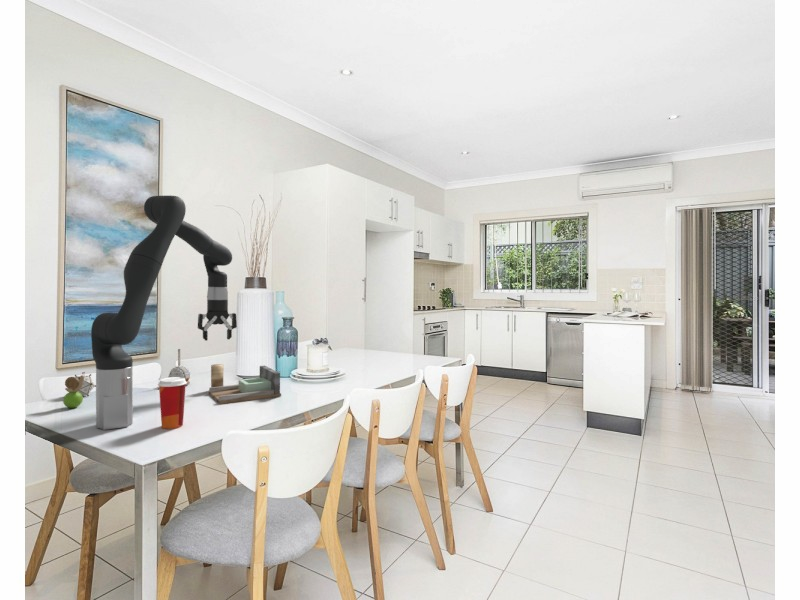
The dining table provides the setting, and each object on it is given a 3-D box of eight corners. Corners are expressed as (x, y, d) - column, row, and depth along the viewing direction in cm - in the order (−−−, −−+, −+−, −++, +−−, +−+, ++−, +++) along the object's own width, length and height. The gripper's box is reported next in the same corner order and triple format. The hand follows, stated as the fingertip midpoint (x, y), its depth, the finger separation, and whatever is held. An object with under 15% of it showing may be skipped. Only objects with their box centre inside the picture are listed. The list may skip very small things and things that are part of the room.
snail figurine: (79, 409, 152) (79, 373, 151) (59, 409, 152) (58, 373, 151) (89, 405, 157) (89, 370, 157) (69, 405, 157) (69, 370, 156)
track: (281, 396, 174) (281, 372, 174) (220, 404, 162) (220, 378, 162) (265, 387, 189) (265, 365, 189) (208, 393, 177) (208, 370, 176)
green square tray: (270, 392, 176) (271, 381, 176) (245, 395, 171) (245, 384, 171) (262, 387, 184) (262, 377, 184) (238, 390, 179) (238, 379, 179)
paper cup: (176, 420, 142) (176, 375, 142) (192, 424, 138) (192, 378, 138) (151, 427, 135) (151, 380, 135) (167, 432, 132) (167, 383, 131)
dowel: (224, 390, 182) (224, 365, 181) (212, 392, 179) (212, 366, 179) (221, 388, 185) (221, 363, 185) (209, 389, 183) (210, 364, 183)
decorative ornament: (177, 382, 195) (177, 347, 194) (193, 383, 193) (193, 348, 192) (164, 386, 187) (164, 349, 186) (181, 387, 185) (181, 350, 185)
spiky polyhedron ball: (82, 407, 168) (77, 389, 162) (64, 397, 170) (58, 379, 164) (103, 391, 175) (98, 373, 169) (86, 382, 177) (80, 364, 171)
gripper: (200, 299, 174) (200, 342, 174) (238, 298, 182) (238, 339, 182) (196, 298, 180) (196, 339, 181) (233, 298, 188) (233, 337, 189)
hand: (217, 339), depth 182 cm, fingers open, 8 cm apart
